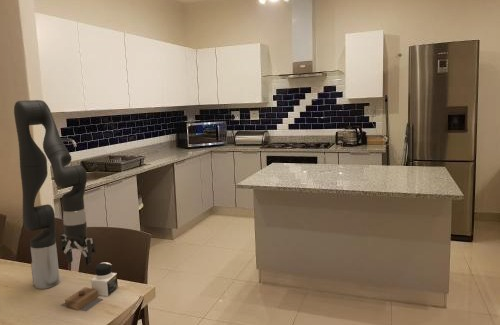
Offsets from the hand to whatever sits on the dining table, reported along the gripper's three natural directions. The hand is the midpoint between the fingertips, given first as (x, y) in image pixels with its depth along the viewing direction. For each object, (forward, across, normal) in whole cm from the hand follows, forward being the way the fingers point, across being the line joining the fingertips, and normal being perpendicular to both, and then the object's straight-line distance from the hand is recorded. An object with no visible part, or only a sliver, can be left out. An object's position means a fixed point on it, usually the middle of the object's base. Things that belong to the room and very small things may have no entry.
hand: (78, 263), depth 146 cm
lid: (+15, 0, 0) cm, 15 cm away
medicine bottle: (+16, +2, +10) cm, 19 cm away
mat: (+16, 0, 0) cm, 16 cm away
